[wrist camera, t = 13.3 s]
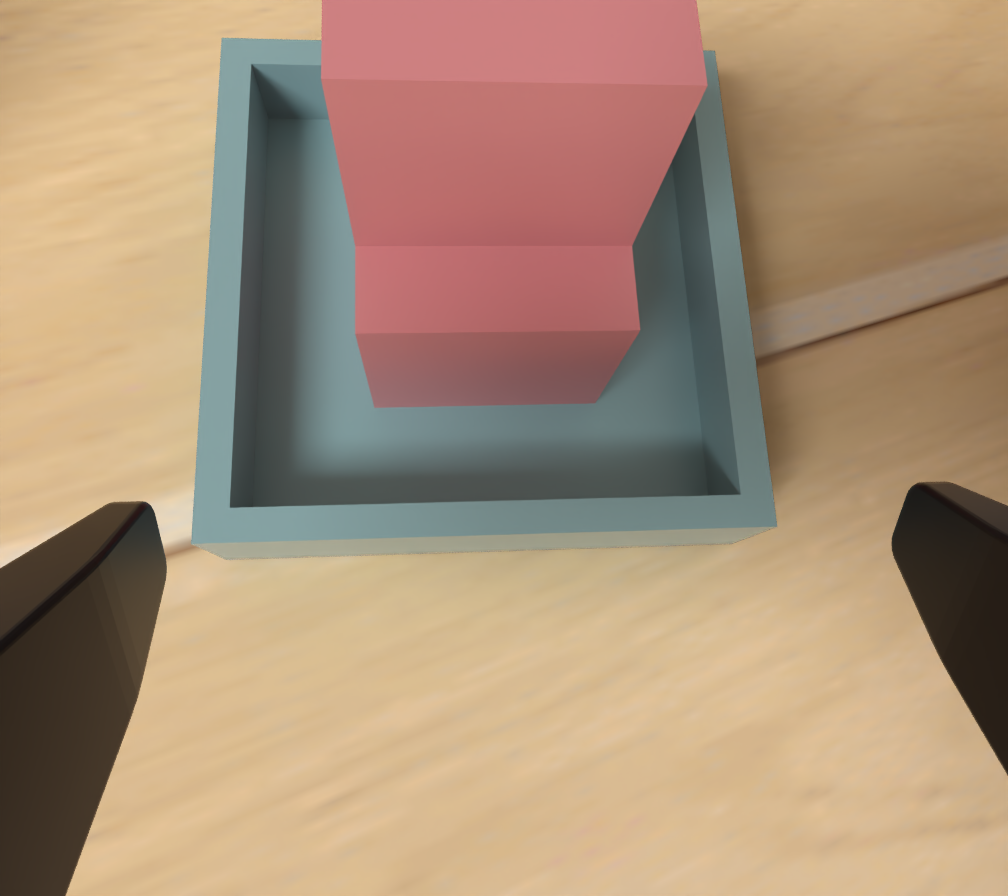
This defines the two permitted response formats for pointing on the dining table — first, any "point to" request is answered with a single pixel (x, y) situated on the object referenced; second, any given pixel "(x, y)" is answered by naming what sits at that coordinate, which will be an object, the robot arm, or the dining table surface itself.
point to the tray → (455, 429)
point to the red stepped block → (502, 185)
